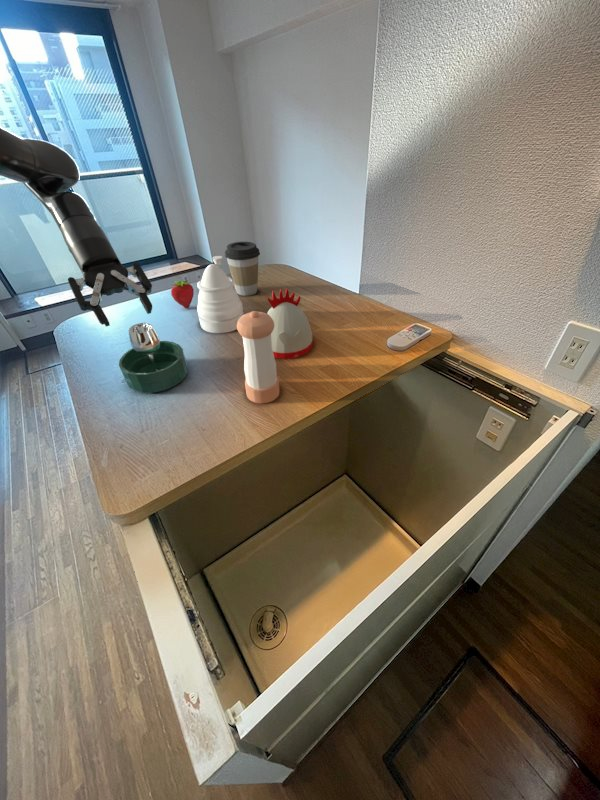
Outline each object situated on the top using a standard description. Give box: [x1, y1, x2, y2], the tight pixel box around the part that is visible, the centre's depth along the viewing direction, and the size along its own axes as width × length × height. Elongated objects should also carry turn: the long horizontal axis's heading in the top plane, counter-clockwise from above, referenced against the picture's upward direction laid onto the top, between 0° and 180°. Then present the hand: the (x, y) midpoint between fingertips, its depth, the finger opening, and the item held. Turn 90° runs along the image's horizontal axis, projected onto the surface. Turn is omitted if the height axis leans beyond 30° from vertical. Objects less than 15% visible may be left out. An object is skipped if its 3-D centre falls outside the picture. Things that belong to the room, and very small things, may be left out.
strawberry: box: [170, 275, 195, 309], centre depth 100 cm, size 6×8×10 cm
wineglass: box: [128, 322, 164, 373], centre depth 72 cm, size 6×6×12 cm
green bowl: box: [118, 340, 189, 394], centre depth 75 cm, size 14×14×6 cm
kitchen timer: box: [266, 287, 313, 360], centre depth 82 cm, size 14×14×15 cm
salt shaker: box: [236, 310, 280, 404], centre depth 65 cm, size 7×7×19 cm
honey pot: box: [196, 255, 245, 334], centre depth 90 cm, size 13×13×18 cm
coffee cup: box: [224, 241, 261, 297], centre depth 108 cm, size 11×11×15 cm
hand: (129, 318), depth 67 cm, fingers open, 8 cm apart
